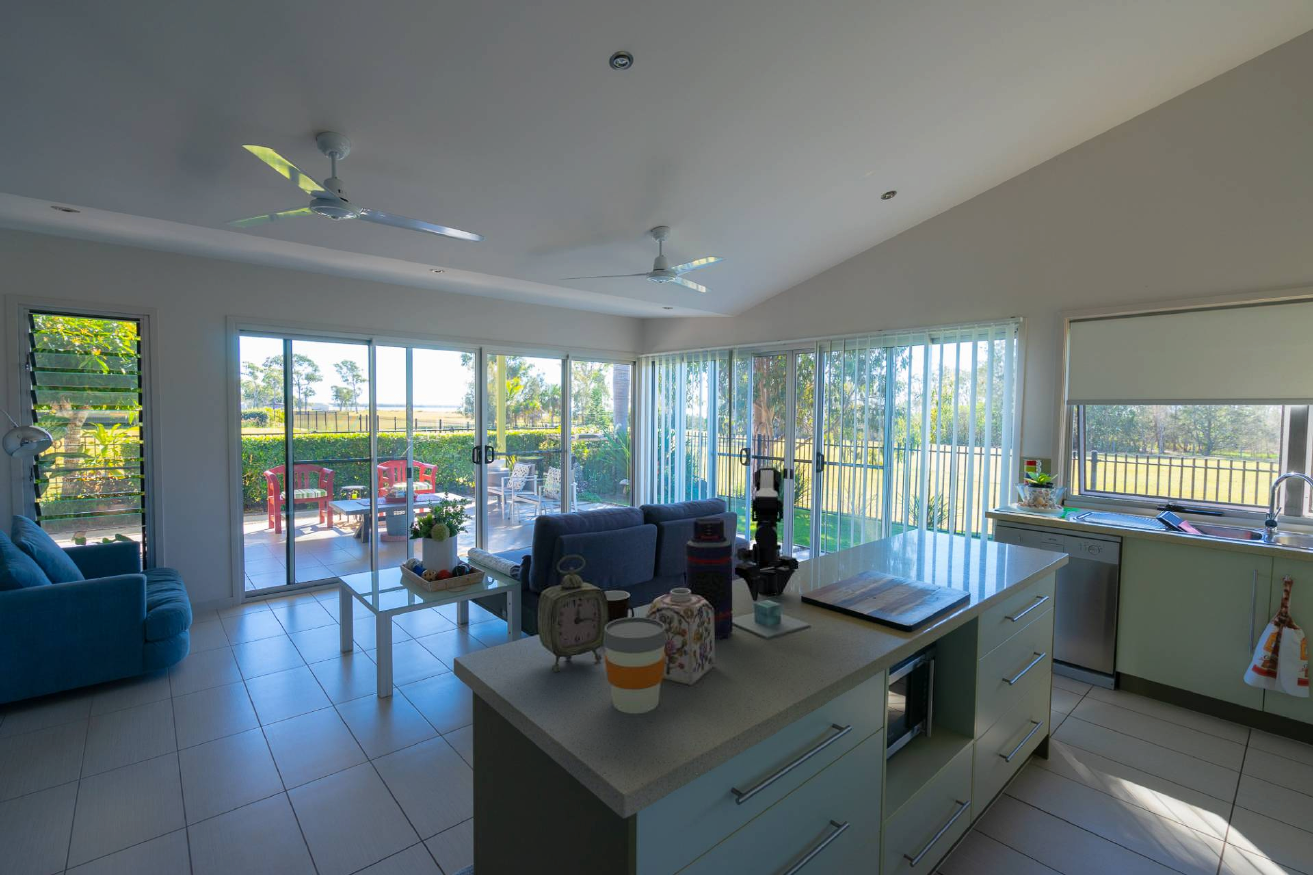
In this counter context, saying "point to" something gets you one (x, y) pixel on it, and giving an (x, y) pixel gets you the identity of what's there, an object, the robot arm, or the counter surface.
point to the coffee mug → (618, 605)
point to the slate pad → (770, 631)
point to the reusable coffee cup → (635, 662)
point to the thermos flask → (711, 570)
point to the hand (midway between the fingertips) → (767, 598)
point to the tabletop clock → (572, 616)
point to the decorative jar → (686, 634)
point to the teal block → (767, 612)
